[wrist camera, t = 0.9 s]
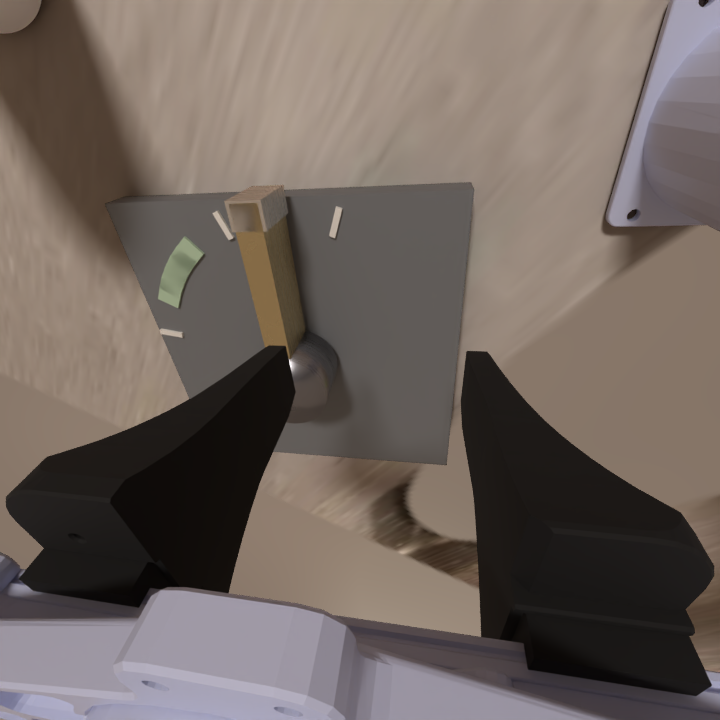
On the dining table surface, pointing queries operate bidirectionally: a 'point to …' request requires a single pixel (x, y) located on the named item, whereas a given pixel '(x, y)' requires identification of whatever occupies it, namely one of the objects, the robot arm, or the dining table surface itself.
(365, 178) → the dining table surface
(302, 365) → the brown bar with cylinder
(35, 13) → the can
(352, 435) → the dial board
